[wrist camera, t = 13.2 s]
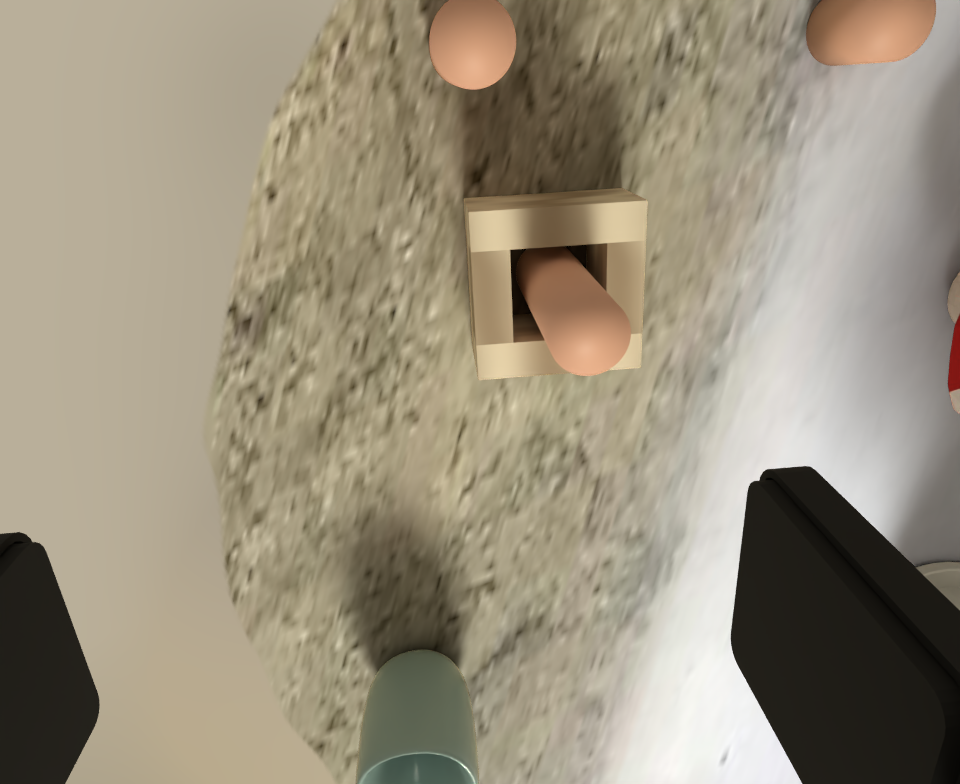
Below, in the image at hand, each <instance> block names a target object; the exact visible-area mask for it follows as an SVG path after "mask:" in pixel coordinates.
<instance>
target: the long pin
mask: <svg viewBox="0 0 960 784" xmlns="http://www.w3.org/2000/svg"><path fill="white" fill-rule="evenodd" d="M516 279H517V283H518V285H519V287H520V289H521V292H522V294H523V296H524V298H525V300H526V302H527V304H528V306H529V308H530V310H531V312H532V314H533V317H534V319H535V321H536V323H537V325H538V327H539V329H540V331H541V333H542V335H543V337H544V340H545V342H546V344H547V346H548V348H549V350H550V352H551V354H552V356H553V358H554V360H555V361H556V362H557V363H558V364H559V365H560V366H561V367H562V368H563V369H565V370H566V371H568V372H570V373H573V374H576V375H582V376H591V375H596V374H600V373H603V372H605V371H607V370H609V369H611V368H612V367H613V366H615V365H616V364H617V363H618V362H619V361H620V360H621V359H622V357H623V356H624V355H625V353H626V351H627V349H628V346H629V343H630V339H631V327H630V322H629V319H628V317H627V315H626V314H625V312H624V311H623V309H622V308H621V307H620V306H619V305H618V304H617V303H616V302H615V301H614V300H613V298H612V297H611V296H610V295H609V294H608V293H607V292H606V291H605V290H604V288H603V287H602V286H601V285H600V284H599V283H598V282H597V281H596V280H595V279H594V277H593V276H592V275H591V274H590V273H589V272H588V271H587V270H586V269H585V267H584V266H583V265H582V264H581V263H580V262H579V261H578V260H577V259H576V258H575V256H574V255H573V254H572V253H571V252H570V251H569V250H568V249H567V248H566V247H565V246H558V247H543V248H528V249H526V250H525V251H524V252H523V254H522V255H521V257H520V258H519V260H518V263H517V266H516Z"/></svg>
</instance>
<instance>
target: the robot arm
mask: <svg viewBox="0 0 960 784" xmlns="http://www.w3.org/2000/svg"><path fill="white" fill-rule="evenodd" d="M731 646H732V650H733V654H734V657H735V660H736V662H737V665H738V666H739V668H740V670H741V672H742V674H743V676H744V677H745V679H746V681H747V683H748V685H749V687H750V688H751V690H752V692H753V694H754V696H755V698H756V699H757V701H758V703H759V705H760V707H761V709H762V710H763V712H764V714H765V716H766V718H767V720H768V721H769V723H770V725H771V727H772V729H773V731H774V732H775V734H776V736H777V738H778V740H779V741H780V743H781V745H782V747H783V749H784V751H785V752H786V754H787V756H788V758H789V760H790V762H791V763H792V765H793V767H794V769H795V771H796V773H797V774H798V776H799V778H800V780H801V782H802V784H960V563H959V562H940V563H931V564H927V565H923V566H919V567H915V566H914V565H913V564H911V563H910V562H909V561H908V560H907V559H906V558H905V557H904V556H903V555H902V554H901V553H900V552H899V551H898V550H897V549H896V548H895V547H894V546H893V545H892V544H891V543H890V542H889V541H888V540H887V539H886V538H885V537H884V536H883V535H882V534H881V533H880V532H879V531H877V530H876V529H875V528H874V527H873V526H872V525H871V524H870V523H869V522H868V521H867V520H866V519H865V518H864V517H863V516H862V515H861V514H860V513H859V512H858V511H857V510H856V509H855V508H854V507H853V506H852V505H851V504H850V503H849V502H848V501H847V500H846V499H845V498H843V497H842V496H841V495H840V494H839V493H838V492H837V491H836V490H835V489H834V488H833V487H832V486H831V485H830V484H829V483H828V482H827V481H826V480H825V479H824V478H823V477H822V476H821V475H820V474H819V473H818V472H817V471H816V470H814V469H813V468H811V467H807V466H803V467H791V468H779V469H767V470H766V471H764V472H763V473H762V475H761V477H760V481H753V482H752V483H751V484H750V486H749V488H748V493H747V502H746V510H745V519H744V527H743V536H742V544H741V553H740V561H739V570H738V578H737V587H736V595H735V604H734V612H733V621H732V629H731ZM98 714H99V696H98V693H97V690H96V687H95V685H94V682H93V679H92V676H91V673H90V671H89V668H88V666H87V663H86V660H85V657H84V654H83V652H82V649H81V646H80V643H79V640H78V638H77V635H76V632H75V629H74V627H73V624H72V621H71V618H70V616H69V613H68V610H67V607H66V605H65V602H64V599H63V597H62V594H61V591H60V589H59V586H58V583H57V580H56V577H55V575H54V572H53V569H52V566H51V564H50V561H49V558H48V556H47V553H46V551H45V549H44V547H43V546H42V545H41V544H40V543H36V542H32V541H31V539H30V538H29V537H28V536H27V535H26V534H23V533H20V532H17V533H6V534H0V784H65V783H66V781H67V779H68V777H69V775H70V773H71V771H72V769H73V767H74V765H75V763H76V762H77V759H78V758H79V756H80V754H81V752H82V750H83V748H84V746H85V744H86V742H87V740H88V738H89V736H90V735H91V733H92V730H93V729H94V727H95V724H96V722H97V718H98Z"/></svg>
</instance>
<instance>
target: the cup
mask: <svg viewBox="0 0 960 784" xmlns="http://www.w3.org/2000/svg"><path fill="white" fill-rule="evenodd" d="M356 784H479V768H478V755H477V742H476V732H475V723H474V716H473V709H472V704H471V698H470V694H469V690H468V688H467V685H466V682H465V679H464V677H463V675H462V673H461V671H460V670H459V668H458V667H457V665H456V664H455V663H454V662H453V661H452V660H451V659H450V658H449V657H447V656H445V655H444V654H442V653H439V652H436V651H433V650H411V651H407V652H404V653H401V654H399V655H397V656H394V657H393V658H391V659H390V660H388V661H387V662H386V663H385V664H384V665H383V666H382V667H381V668H380V669H379V670H378V672H377V674H376V676H375V677H374V679H373V681H372V683H371V686H370V689H369V692H368V696H367V700H366V704H365V708H364V713H363V719H362V725H361V732H360V741H359V750H358V759H357V769H356Z"/></svg>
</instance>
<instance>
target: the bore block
mask: <svg viewBox="0 0 960 784" xmlns="http://www.w3.org/2000/svg"><path fill="white" fill-rule="evenodd" d="M647 205H648V200H646V199H644V198H642V197H640V196H638V195H635V194H633V193H631V192H629V191H627V190H625V189H623V188H614V189H599V190H583V191H568V192H552V193H537V194H521V195H506V196H490V197H475V198H464V213H465V230H466V246H467V262H468V279H469V295H470V312H471V328H472V345H473V353H474V359H475V364H476V370H477V376H478V380H486V379H499V378H512V377H525V376H538V375H552V374H565V373H570V372H568V371H566V370H565V369H563V368H562V367H561V366H560V365H559V364H558V363H557V362H556V361H555V360H554V358H553V356H552V354H551V352H550V350H549V348H548V346H547V344H546V342H545V340H544V337H543V335H542V333H541V331H540V329H539V327H538V325H537V323H536V321H535V319H534V317H533V314H518V315H512V289H511V262H510V250H514V249H528V248H543V247H558V246H573V245H587V271H588V272H589V273H590V274H591V275H592V276H593V277H594V279H595V280H596V281H597V282H598V283H599V284H600V285H601V286H602V287H603V288H604V290H605V291H606V292H607V293H608V294H609V295H610V296H611V297H612V298H613V300H614V301H615V302H616V303H617V304H618V305H619V306H620V307H621V308H622V309H623V311H624V312H625V314H626V315H627V317H628V319H629V322H630V327H631V339H630V343H629V346H628V349H627V351H626V353H625V355H624V356H623V357H622V359H621V360H620V361H619V362H618V363H617V364H616V365H615V366H613V367H612V368H611V369H609V370H617V369H631V368H641V352H642V327H643V303H644V278H645V254H646V230H647Z"/></svg>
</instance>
